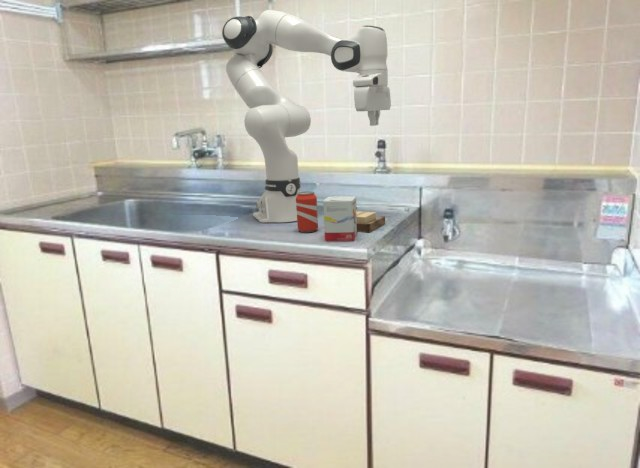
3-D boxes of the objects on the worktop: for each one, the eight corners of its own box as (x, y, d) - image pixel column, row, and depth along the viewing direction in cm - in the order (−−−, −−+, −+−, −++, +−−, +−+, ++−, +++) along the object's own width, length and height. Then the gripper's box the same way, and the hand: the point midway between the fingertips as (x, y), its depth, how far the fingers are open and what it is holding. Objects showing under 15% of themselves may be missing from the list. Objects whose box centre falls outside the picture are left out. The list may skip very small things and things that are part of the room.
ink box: (354, 241, 140) (352, 199, 137) (324, 241, 142) (322, 200, 139) (358, 234, 148) (356, 194, 145) (329, 234, 150) (327, 195, 147)
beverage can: (322, 230, 155) (320, 192, 152) (305, 234, 151) (303, 195, 149) (310, 227, 160) (308, 190, 157) (294, 231, 156) (291, 193, 153)
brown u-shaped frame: (351, 221, 165) (351, 214, 164) (385, 224, 159) (385, 216, 158) (334, 230, 155) (333, 222, 154) (369, 232, 149) (369, 224, 148)
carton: (355, 224, 162) (355, 210, 161) (376, 226, 158) (376, 212, 157) (343, 230, 155) (343, 215, 154) (365, 231, 151) (364, 217, 150)
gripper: (377, 82, 167) (378, 124, 170) (350, 80, 150) (351, 127, 153) (395, 80, 164) (395, 123, 167) (369, 79, 147) (370, 126, 150)
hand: (374, 125), depth 160 cm, fingers closed
